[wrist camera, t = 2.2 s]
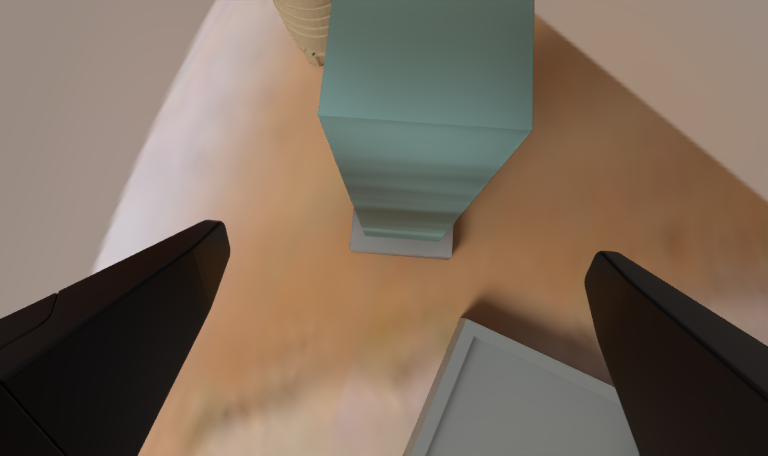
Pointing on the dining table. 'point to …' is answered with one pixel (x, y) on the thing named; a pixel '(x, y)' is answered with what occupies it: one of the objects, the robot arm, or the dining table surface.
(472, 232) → the dining table surface
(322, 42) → the handle
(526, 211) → the dining table surface
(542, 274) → the dining table surface
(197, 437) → the dining table surface
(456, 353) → the tray
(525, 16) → the teal green tall block
